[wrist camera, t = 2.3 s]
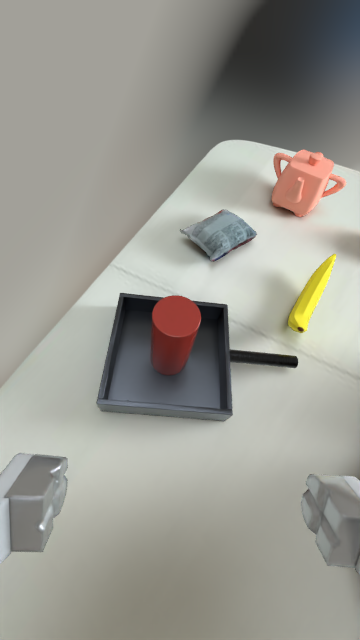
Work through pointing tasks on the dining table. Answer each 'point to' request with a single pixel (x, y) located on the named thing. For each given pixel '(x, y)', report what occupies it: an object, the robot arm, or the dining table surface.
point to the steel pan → (184, 387)
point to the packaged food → (220, 234)
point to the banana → (310, 296)
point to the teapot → (303, 181)
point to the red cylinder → (173, 333)
